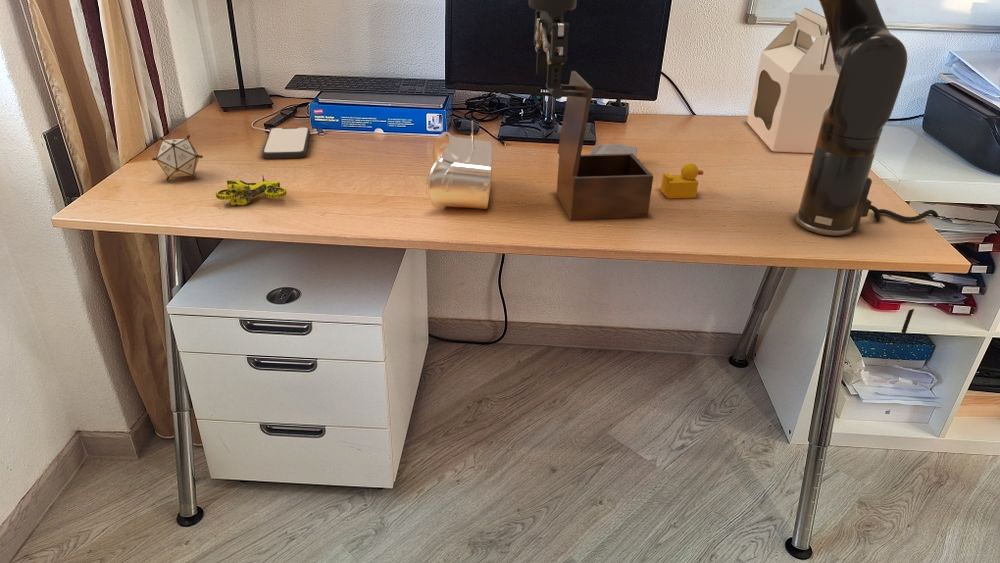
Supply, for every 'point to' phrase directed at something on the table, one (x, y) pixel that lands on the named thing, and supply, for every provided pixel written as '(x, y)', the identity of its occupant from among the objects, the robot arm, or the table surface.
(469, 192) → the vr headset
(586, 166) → the toy chest
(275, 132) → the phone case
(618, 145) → the stone block
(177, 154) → the game die
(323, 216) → the table surface
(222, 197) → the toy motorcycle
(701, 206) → the table surface
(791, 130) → the gable box
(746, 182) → the table surface
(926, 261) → the table surface
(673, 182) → the toy duck
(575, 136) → the chest lid
